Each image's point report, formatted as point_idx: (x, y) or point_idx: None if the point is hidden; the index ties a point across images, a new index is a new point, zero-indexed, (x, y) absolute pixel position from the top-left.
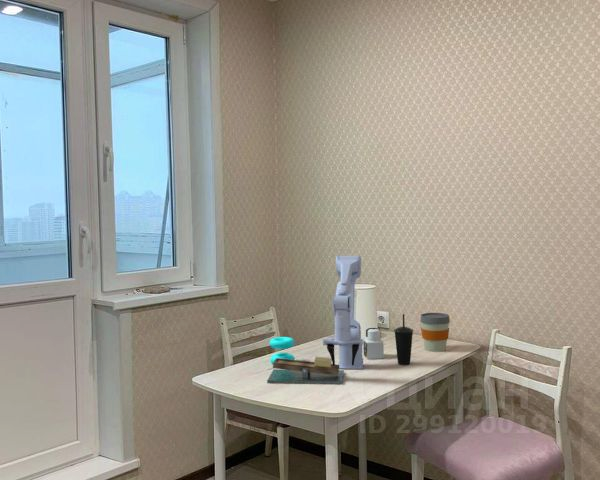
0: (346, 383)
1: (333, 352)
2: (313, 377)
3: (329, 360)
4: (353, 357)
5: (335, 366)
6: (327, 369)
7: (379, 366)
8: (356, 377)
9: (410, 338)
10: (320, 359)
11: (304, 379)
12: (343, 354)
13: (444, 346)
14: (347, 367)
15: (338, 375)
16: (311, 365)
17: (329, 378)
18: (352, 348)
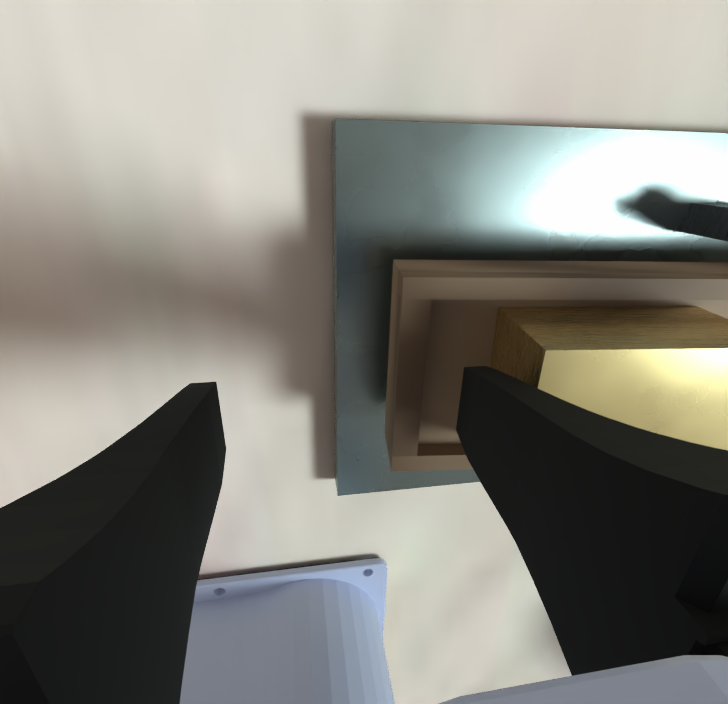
0: (285, 162)
1: (608, 452)
2: None
3: (564, 396)
4: (144, 439)
5: (430, 443)
6: (545, 273)
7: None
8: (203, 377)
9: None
10: (696, 395)
11: (723, 191)
12: (357, 697)
13: None
14: (311, 578)
15: (382, 348)
16: None
17: (476, 238)
18: (22, 582)
